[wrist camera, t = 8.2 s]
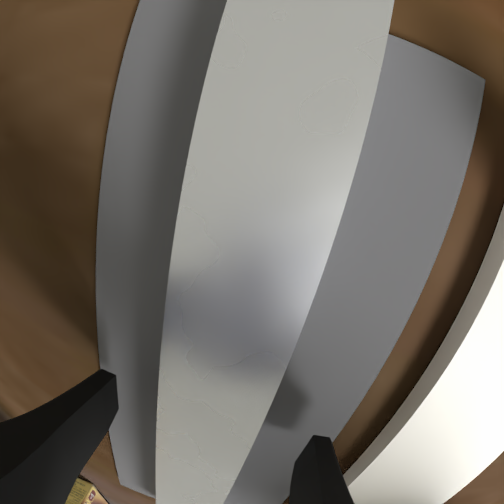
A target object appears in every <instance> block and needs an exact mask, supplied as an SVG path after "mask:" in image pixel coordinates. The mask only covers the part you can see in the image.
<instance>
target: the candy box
mask: <svg viewBox="0 0 504 504" xmlns="http://www.w3.org/2000/svg"><path fill="white" fill-rule="evenodd" d="M65 504H108V503H107V502H106V500H105V499H104V498H103V497H102V495H101V494H100V493H99V492H98V490H97V488H96V487H95V485H94V484H92V483H90V482H87V481H85V480H82V479H80V478H78V477H77V479H76V481H75V483H74V485H73V487H72V489H71V492H70V494H69V496H68V498H67V500H66V503H65Z"/></svg>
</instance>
